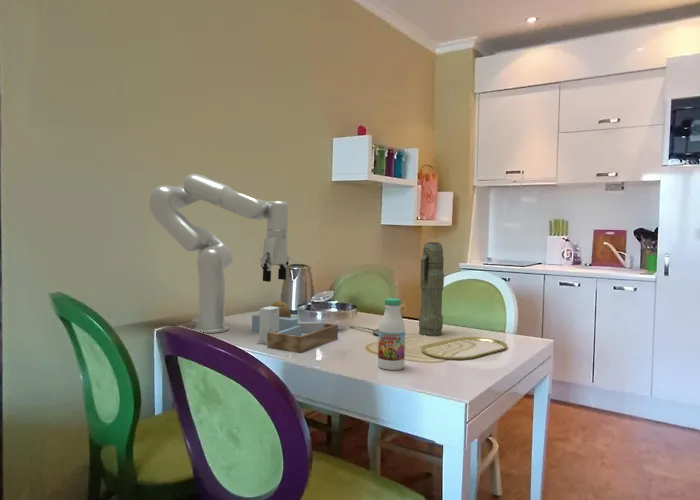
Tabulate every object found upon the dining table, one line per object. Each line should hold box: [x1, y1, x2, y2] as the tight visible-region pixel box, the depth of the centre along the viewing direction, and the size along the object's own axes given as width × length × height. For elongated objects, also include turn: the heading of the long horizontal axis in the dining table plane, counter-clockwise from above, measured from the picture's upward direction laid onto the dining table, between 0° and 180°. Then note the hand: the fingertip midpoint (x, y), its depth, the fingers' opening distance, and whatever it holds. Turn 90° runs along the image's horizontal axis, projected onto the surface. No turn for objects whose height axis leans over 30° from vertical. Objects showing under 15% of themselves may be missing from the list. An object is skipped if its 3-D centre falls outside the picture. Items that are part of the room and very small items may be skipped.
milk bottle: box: [377, 297, 406, 371], centre depth 152 cm, size 8×8×20 cm
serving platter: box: [421, 336, 508, 361], centre depth 176 cm, size 19×35×2 cm, turn 132°
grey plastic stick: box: [298, 321, 330, 334], centre depth 197 cm, size 12×3×4 cm, turn 100°
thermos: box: [418, 241, 445, 337], centre depth 199 cm, size 9×12×35 cm
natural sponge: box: [270, 300, 292, 318], centre depth 208 cm, size 9×9×10 cm
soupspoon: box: [349, 324, 379, 336], centre depth 201 cm, size 22×3×7 cm
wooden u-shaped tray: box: [266, 323, 339, 354], centre depth 180 cm, size 13×24×5 cm, turn 153°
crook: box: [251, 313, 302, 336], centre depth 187 cm, size 20×20×6 cm
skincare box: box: [258, 305, 279, 345], centre depth 179 cm, size 6×4×12 cm
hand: (274, 280), depth 194 cm, fingers open, 9 cm apart
